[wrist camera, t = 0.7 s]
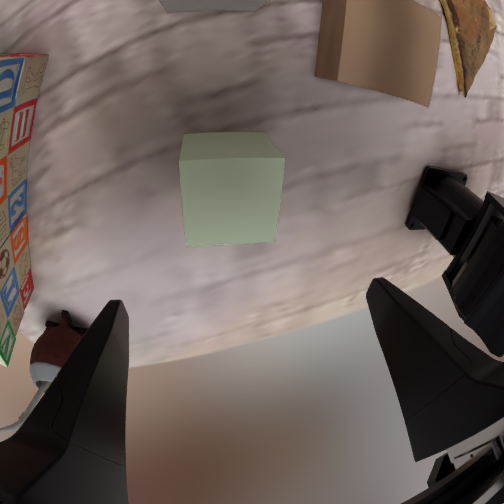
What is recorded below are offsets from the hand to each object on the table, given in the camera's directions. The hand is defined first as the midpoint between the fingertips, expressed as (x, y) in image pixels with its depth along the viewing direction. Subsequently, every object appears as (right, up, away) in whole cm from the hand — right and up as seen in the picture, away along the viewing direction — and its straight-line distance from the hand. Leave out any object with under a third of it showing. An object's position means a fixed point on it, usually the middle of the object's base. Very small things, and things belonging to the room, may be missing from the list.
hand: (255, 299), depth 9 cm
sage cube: (-2, +7, +8) cm, 11 cm away
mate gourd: (-21, -6, +16) cm, 27 cm away
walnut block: (+7, +16, +4) cm, 18 cm away
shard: (+19, +21, +2) cm, 28 cm away
